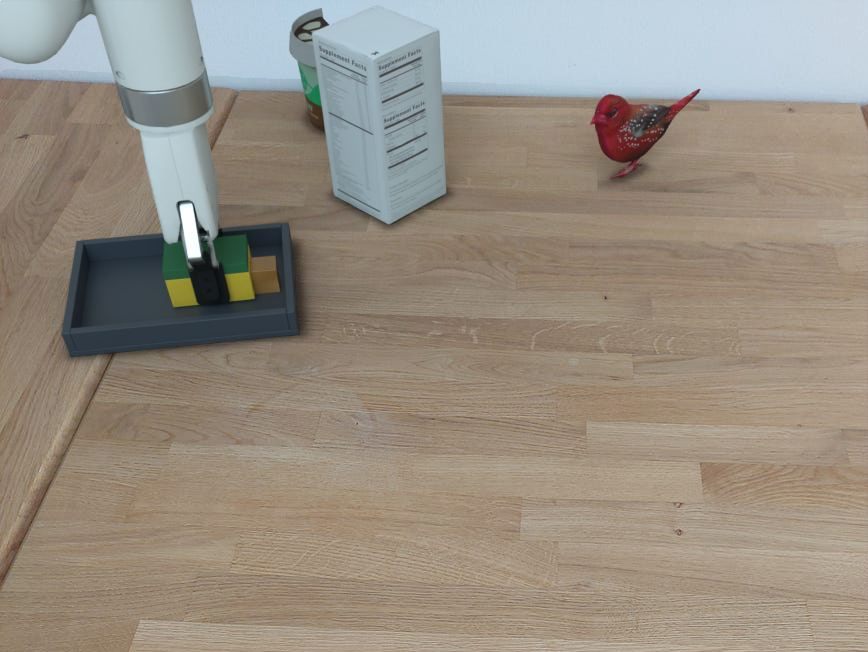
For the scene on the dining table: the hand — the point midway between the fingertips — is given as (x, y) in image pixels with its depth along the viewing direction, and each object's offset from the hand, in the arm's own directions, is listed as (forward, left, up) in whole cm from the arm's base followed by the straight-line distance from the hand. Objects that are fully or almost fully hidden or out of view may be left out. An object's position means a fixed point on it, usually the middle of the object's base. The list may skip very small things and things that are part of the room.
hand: (214, 283), depth 96 cm
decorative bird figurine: (+48, +17, -2) cm, 51 cm away
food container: (+13, +34, -2) cm, 36 cm away
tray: (-3, 0, -1) cm, 3 cm away
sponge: (0, 0, -1) cm, 1 cm away
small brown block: (+5, 0, -1) cm, 5 cm away
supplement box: (+19, +16, -2) cm, 25 cm away
